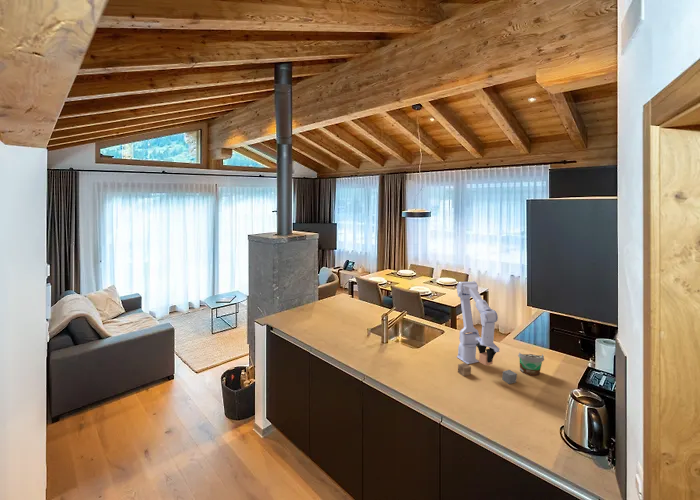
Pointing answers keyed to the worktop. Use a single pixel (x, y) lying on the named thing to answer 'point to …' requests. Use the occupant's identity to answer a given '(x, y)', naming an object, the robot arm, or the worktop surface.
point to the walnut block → (464, 369)
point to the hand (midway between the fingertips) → (485, 359)
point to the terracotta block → (484, 359)
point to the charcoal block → (509, 376)
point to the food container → (530, 364)
